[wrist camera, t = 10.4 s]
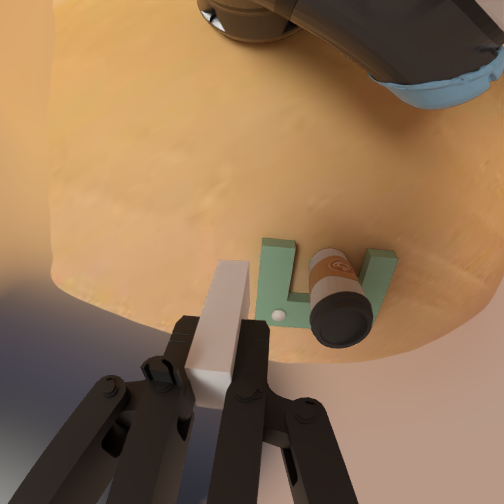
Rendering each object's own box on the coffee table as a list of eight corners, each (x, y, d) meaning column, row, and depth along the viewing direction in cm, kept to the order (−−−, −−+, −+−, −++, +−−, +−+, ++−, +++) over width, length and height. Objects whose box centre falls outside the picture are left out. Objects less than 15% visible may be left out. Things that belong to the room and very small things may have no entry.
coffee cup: (360, 248, 44) (388, 309, 31) (341, 288, 48) (357, 354, 35) (312, 235, 43) (326, 296, 30) (296, 278, 48) (300, 345, 35)
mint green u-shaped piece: (262, 237, 44) (261, 247, 42) (393, 251, 44) (399, 260, 41) (255, 314, 52) (254, 326, 50) (367, 321, 52) (370, 333, 49)
